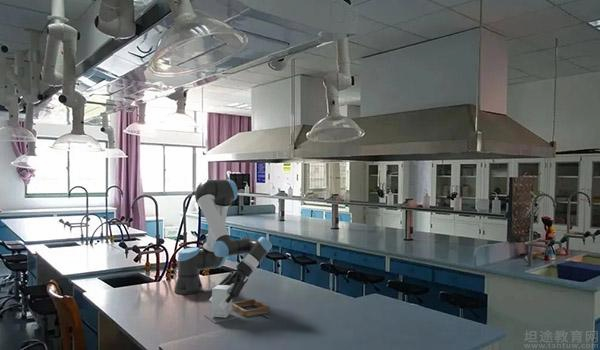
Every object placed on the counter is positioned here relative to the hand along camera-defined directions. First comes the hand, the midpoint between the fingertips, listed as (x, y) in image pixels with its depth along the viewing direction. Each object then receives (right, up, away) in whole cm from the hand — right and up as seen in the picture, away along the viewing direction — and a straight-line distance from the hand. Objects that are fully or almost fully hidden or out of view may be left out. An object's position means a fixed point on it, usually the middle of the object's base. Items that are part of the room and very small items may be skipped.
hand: (215, 304), depth 185 cm
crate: (+14, -6, +11) cm, 19 cm away
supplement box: (+2, -5, +2) cm, 6 cm away
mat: (+2, -6, +2) cm, 7 cm away
